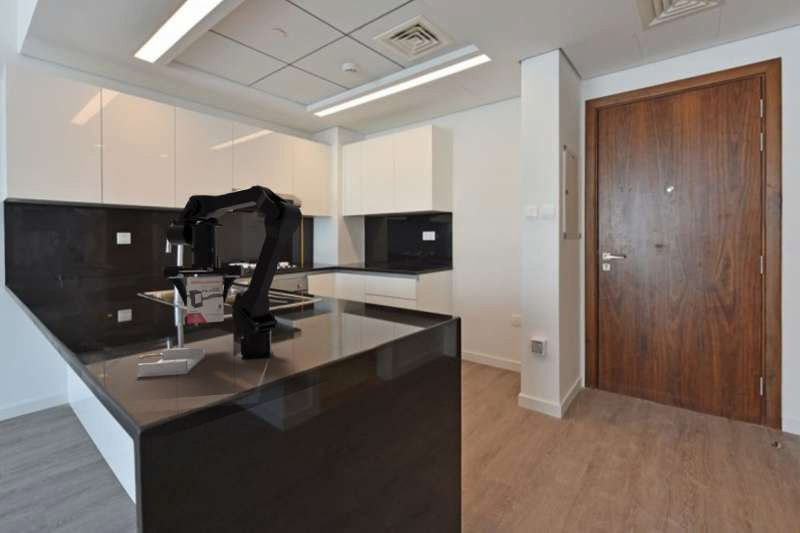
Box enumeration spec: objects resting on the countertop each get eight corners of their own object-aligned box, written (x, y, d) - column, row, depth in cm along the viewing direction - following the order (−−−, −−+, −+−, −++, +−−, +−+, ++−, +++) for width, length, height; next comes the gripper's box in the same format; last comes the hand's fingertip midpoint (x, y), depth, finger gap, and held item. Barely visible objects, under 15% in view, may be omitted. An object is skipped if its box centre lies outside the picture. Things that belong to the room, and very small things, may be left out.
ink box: (187, 324, 99) (186, 277, 99) (187, 321, 103) (186, 276, 103) (224, 321, 103) (223, 276, 103) (223, 318, 107) (222, 275, 107)
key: (166, 354, 99) (166, 352, 99) (166, 356, 97) (166, 353, 97) (139, 357, 96) (139, 355, 96) (139, 359, 94) (139, 357, 94)
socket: (204, 357, 96) (204, 347, 96) (186, 373, 82) (185, 362, 82) (163, 359, 94) (163, 349, 94) (137, 377, 80) (137, 364, 80)
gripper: (246, 245, 113) (247, 299, 113) (175, 245, 108) (176, 301, 109) (240, 243, 102) (241, 303, 102) (160, 243, 98) (161, 306, 98)
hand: (205, 303), depth 103 cm, fingers closed on ink box, 9 cm apart
